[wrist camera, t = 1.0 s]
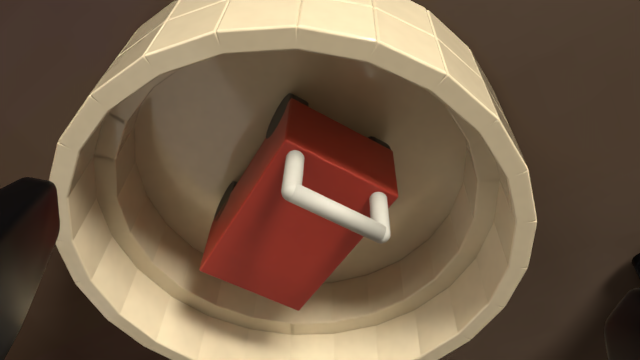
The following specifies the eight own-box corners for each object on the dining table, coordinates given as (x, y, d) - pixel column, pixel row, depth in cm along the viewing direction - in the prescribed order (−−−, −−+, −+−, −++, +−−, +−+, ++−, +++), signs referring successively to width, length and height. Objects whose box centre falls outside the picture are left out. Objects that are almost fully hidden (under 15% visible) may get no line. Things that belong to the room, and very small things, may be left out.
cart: (293, 80, 21) (278, 180, 16) (391, 133, 22) (405, 240, 17) (216, 204, 25) (186, 314, 20) (304, 243, 26) (295, 356, 21)
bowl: (559, 205, 25) (605, 302, 21) (266, 332, 31) (254, 427, 27) (361, -145, 17) (367, -109, 13) (19, 115, 23) (-57, 200, 19)
